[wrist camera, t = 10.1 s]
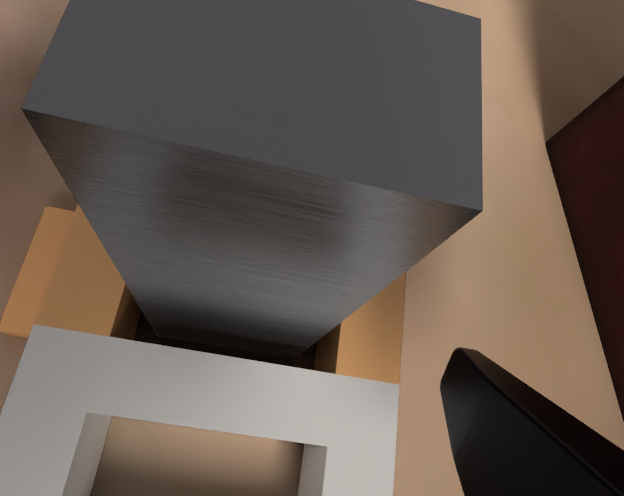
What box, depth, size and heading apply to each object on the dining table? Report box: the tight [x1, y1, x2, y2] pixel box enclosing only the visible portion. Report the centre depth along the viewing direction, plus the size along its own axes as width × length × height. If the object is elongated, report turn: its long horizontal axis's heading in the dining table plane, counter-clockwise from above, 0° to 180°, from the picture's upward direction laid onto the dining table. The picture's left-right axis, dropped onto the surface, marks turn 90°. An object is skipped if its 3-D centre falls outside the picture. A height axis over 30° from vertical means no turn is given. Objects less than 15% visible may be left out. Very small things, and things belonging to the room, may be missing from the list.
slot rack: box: [0, 204, 406, 496], centre depth 16 cm, size 22×12×4 cm, turn 172°
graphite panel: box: [21, 0, 483, 359], centre depth 12 cm, size 3×5×13 cm, turn 82°
